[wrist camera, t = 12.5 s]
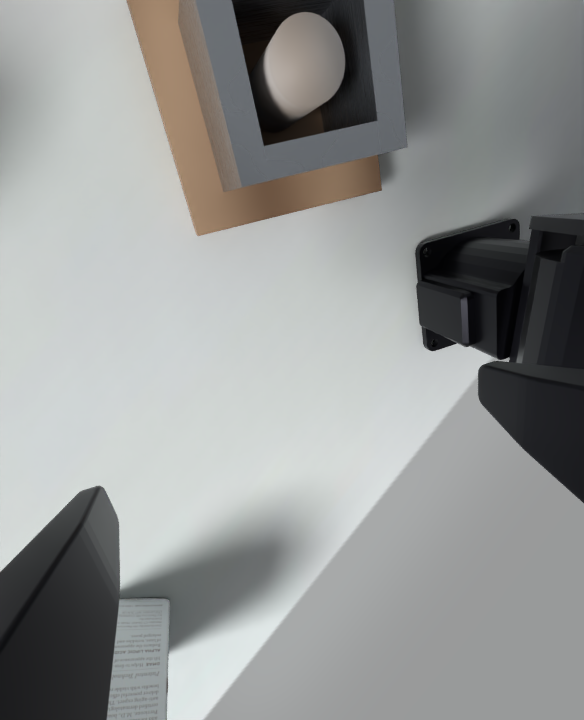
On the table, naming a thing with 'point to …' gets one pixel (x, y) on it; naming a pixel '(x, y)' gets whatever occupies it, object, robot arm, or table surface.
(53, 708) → the robot arm
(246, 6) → the grey square sleeve
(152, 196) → the table surface
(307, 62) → the post stand
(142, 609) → the skincare box
